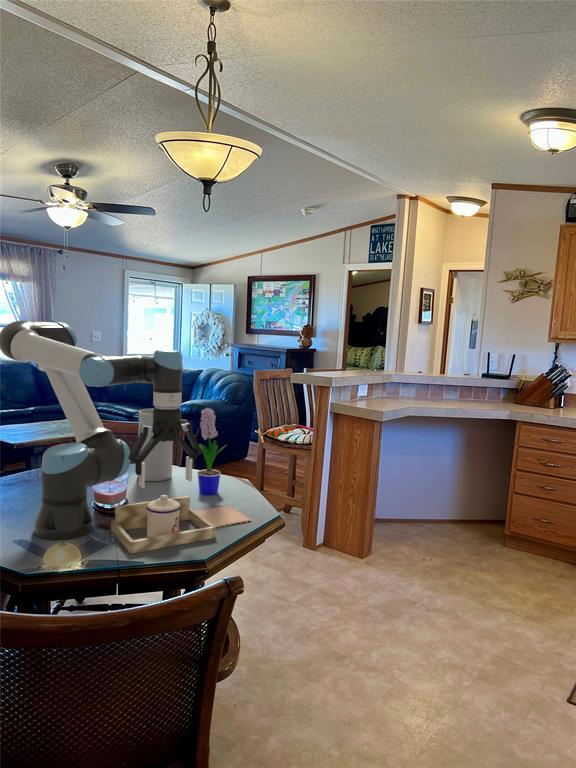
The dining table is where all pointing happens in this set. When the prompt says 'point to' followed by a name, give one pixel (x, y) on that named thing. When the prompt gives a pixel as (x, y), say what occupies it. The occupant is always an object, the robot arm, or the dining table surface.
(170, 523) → the teacup with lid
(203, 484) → the hyacinth
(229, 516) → the terracotta tile
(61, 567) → the dining table surface
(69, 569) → the dining table surface
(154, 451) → the cylinder vase
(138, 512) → the frame
